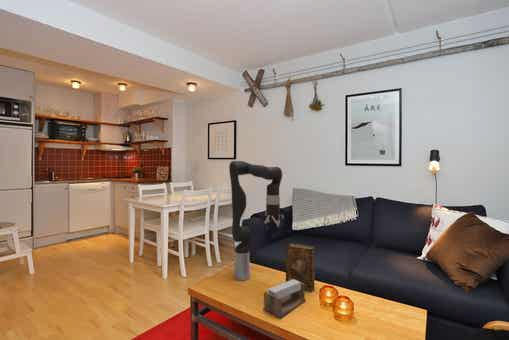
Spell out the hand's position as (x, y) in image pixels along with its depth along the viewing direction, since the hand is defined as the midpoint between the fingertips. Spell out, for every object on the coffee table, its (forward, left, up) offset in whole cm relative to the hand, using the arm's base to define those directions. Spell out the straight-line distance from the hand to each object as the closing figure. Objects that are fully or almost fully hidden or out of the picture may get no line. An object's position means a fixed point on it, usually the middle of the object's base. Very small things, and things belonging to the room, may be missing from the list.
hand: (272, 231), depth 150 cm
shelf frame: (+12, -5, -36) cm, 38 cm away
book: (+7, +17, -36) cm, 41 cm away
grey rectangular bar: (+12, -5, -29) cm, 32 cm away
